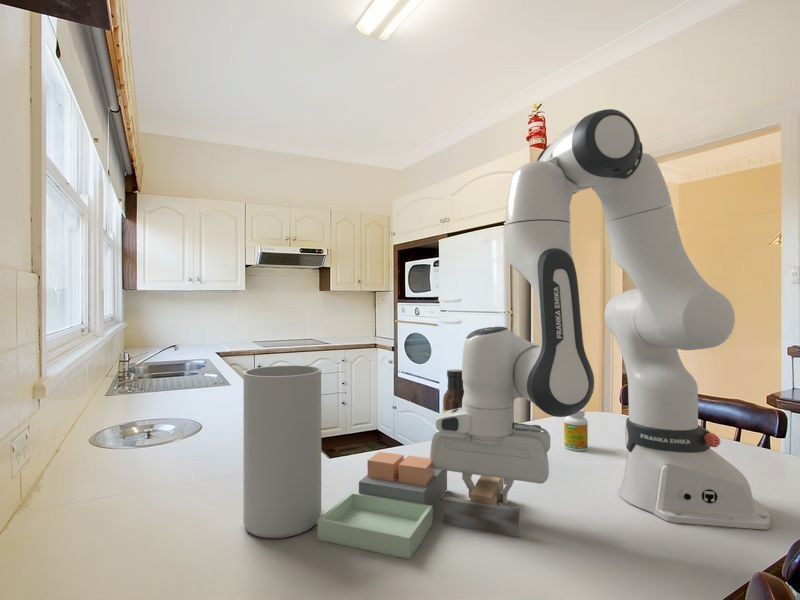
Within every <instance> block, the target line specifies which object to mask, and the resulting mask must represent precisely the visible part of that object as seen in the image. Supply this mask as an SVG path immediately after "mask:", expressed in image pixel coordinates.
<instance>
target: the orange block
mask: <svg viewBox="0 0 800 600" xmlns="http://www.w3.org/2000/svg"><path fill="white" fill-rule="evenodd" d="M403 460H404V454H397V453H391V452H383V451H378V452H377V453H375V454H374V455H373V456H371V457H370V458H369V459H368V460H367V475H368V477H370V478H377V479H383V480H390V481H394V480H395V479H396V478H397V477H398V476H399V464H400V463H401V462H402V461H403Z"/></svg>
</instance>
